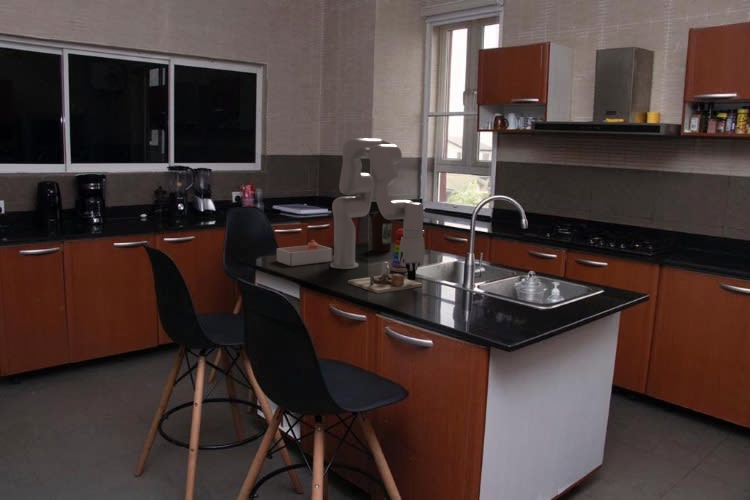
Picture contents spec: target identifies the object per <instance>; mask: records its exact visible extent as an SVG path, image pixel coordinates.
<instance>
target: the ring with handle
mask: <svg viewBox="0 0 750 500" xmlns="http://www.w3.org/2000/svg"><path fill="white" fill-rule="evenodd" d="M378 276H379V277H375V276H374V282H376V283H380V284H391V285H394V286H404V278H405V275H403V274H401V273H393V274H392V277H390V276H389V280H381V276H382V275H378Z"/></svg>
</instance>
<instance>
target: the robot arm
mask: <svg viewBox="0 0 750 500" xmlns="http://www.w3.org/2000/svg"><path fill="white" fill-rule="evenodd" d="M402 157H403V155H402V150H401V148H400V147H399V146H398V145H397V144H395V143H392V142H390V141H388V140H385V139H382V138H376V137H375V138H369V137H368V138H367V137H356V138H354V137H353V138H350V139H347V140H346V141H345V142H344V143H343V147H342V165H341V172H340V177H339V192H340V193H342V194H343V195H346V196H340V197H336V198H335V199H334V200H333V202H332V206H331V209H332V215H333V225H334V226H333V234H334V236H333V240H334V241H333V255H332V257H331V259H332V262H331V263H330V267H331V268H333V269H339V270H352V269H357V268H358V267H359V263H358V262H356V236H357V235H356V232H357V231H356V230H357V229H356V225H355V223H354V221H353V218H362V217H365V216H367V215H368V214H369V212H370V210H371V206H372V201H373V193H374V189H375V183H374V179H373V177H372V175H371V174H370V173H368V172H362V168H363V164H362V163H363V162H362V160H361V159H369V162H370V163H371V167H372V168H373V172H374V174H375V176H376V179H377V180H378V181H377V182H378V185H377V187H376V190H375V202H376V204H377V207H378V210H380V212H381V214H382V216H383V217H384V218H385V219H388V220H392V221H394V220H403V228H402V229H403V237H401V241H400V246H399V256H398V260H399V261H400V262H401V263H400V266H404V267H405V268H406V269H407V272H406V274H407V278H406V279H408V280H411V281H416V278H417V277H416V275H417V270H418V268H419V266H422V265H423V264H424V263H425V262H424V260H425V257H426V256H425V255H426V250H425V248H426V247H425V239H424V237H423V234H425V230H424V228H423V227H424V225H423V224H424V205H423V204H422V203H421V202H419V201H418V202H417V201H412V200H410V199H395V200H391V199H390V197H389V194H388V190H387V189H388V187H389V186H391V185H392V184H394V183H396V182H397V180H398V179H399V172H398V171H397V168H396V165H398V164H399V163H401V161H402V159H403V158H402ZM348 195H349V196H348ZM405 263H406V264H405Z"/></svg>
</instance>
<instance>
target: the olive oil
mask: <svg viewBox="0 0 750 500" xmlns="http://www.w3.org/2000/svg"><path fill="white" fill-rule="evenodd" d="M392 232H393V220H388V219H385V218H384V217H383V216H382V214H381V212H380V210H379V209H378V210H377V211H376V212H375V213H374V214H373V216H372V218H371V242H372V243H371V250H372V251H373V252H376V253H388V251H389V252H390V251H391V248H392V247H391V245H392V242H393V241H392Z"/></svg>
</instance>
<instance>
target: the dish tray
mask: <svg viewBox="0 0 750 500" xmlns="http://www.w3.org/2000/svg"><path fill="white" fill-rule="evenodd" d="M308 247H309V246H308V244H307V245H297V246H288V247H279V248H278V247H277V248H276V262H278V263H281V264H284V265H287V266H290V267H294V266H302V265H310V264H312V265H313V264H319V263H328V262H329V263H330V262H333V259H331V257H332V256H333V248H332V247H329V246H324V245H320V244H318V246H317V247H318V250H311V251H308V250H307V248H308ZM291 252H292V253H291Z"/></svg>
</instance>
